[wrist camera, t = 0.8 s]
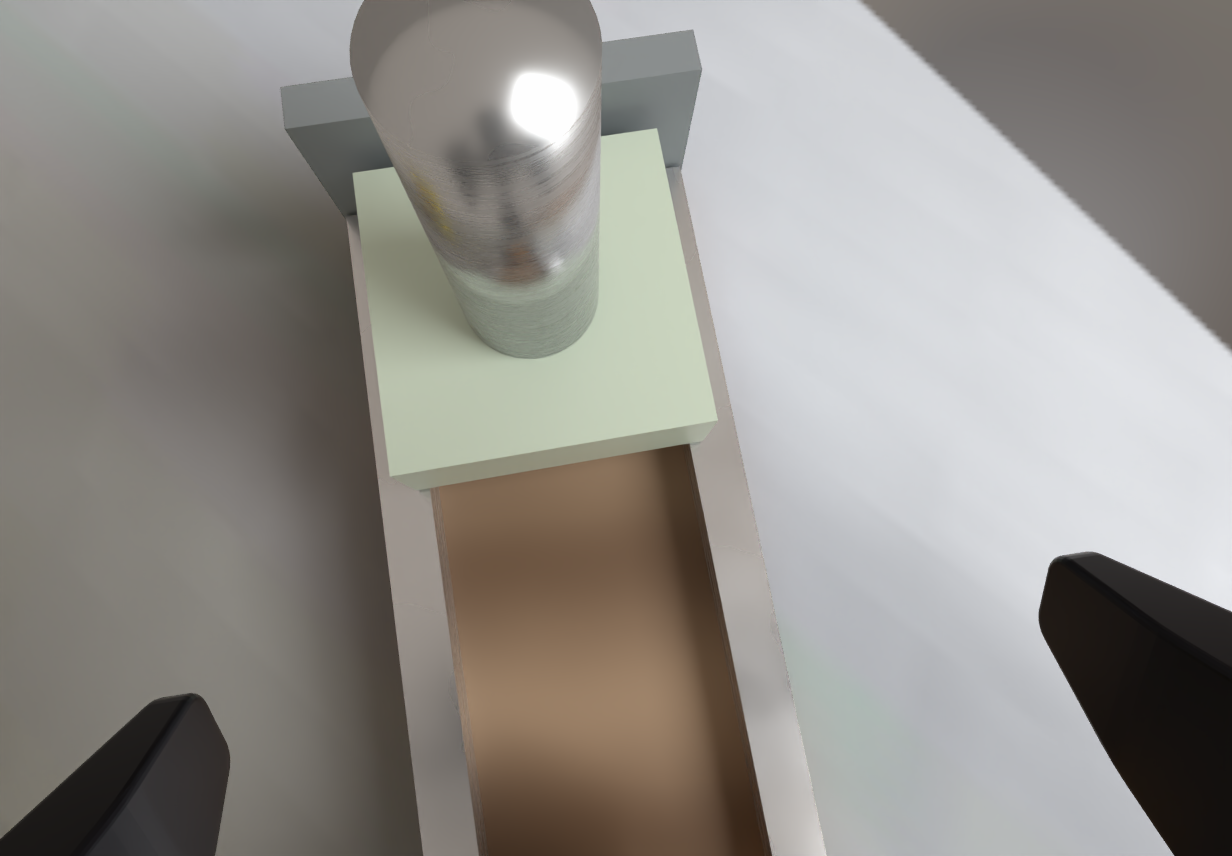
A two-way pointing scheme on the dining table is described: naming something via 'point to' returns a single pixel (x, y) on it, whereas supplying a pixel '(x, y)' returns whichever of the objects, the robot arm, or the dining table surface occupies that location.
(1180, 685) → the robot arm
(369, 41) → the carriage
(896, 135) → the dining table surface
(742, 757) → the rail
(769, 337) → the dining table surface
